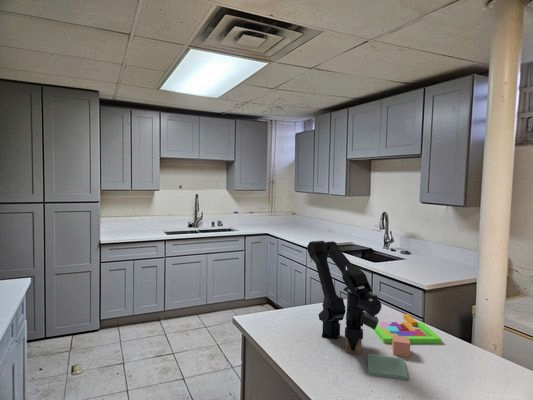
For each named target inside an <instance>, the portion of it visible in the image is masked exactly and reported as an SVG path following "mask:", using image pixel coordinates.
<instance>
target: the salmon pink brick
mask: <svg viewBox="0 0 533 400" xmlns="http://www.w3.org/2000/svg"><path fill="white" fill-rule="evenodd" d="M391 349H392V354H393V356H402V357H411V343H410V341H409V338H408V337H405V336H397V335H392V343H391Z"/></svg>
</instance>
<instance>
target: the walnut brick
mask: <svg viewBox="0 0 533 400" xmlns="http://www.w3.org/2000/svg"><path fill="white" fill-rule="evenodd" d="M362 341H363V339H358V341H357V344H356V348H355V351H352V350H351V347H350V345H349V342H348V340H347V337H345V345H344V346H345V347H344V352H345V353H350V354H357V355H358V354H359V355H361V354H362Z"/></svg>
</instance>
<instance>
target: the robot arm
mask: <svg viewBox="0 0 533 400" xmlns="http://www.w3.org/2000/svg"><path fill="white" fill-rule="evenodd" d="M306 250H307V253H308V255H309V258H310V259H311V260H312V261H313V262H314V264H315V266H316V270H317V271H316V272H317V274H318V278H319V282H320V285H321V289H322V293H323V297H324V298H323V301H322V311H320V312H319V313H318V320H319V321H321V322H322V333H321V337H322V338H328V339H337V340H338V339H339V337H340V335H341V323H340V321H343V320H344V317H345V328H344V337H345V338H346V337H347V340H348V342H349V345H350V347H351V350H352V351H355V348H356V344H357V341H358V339H362V340H363V339H364V329H363V327H364V325H365V326H366V327H369V328H371V329H372V330H373V329H376V327H377V324H379V318H378V316H377V315H378V314H379V313H380V312H381V310H382V303H381V300H380V299H378V295H377V294H373V293H372V292H373V289H372V286H371V285H370V282H369V280H368V278H367V277H368V276H367V275H366V273H365V272H364V271H363V270H362V269H360V268H359V267H358V266H355V265H353V264H352V263H351V261H350V260H349V258H347V256H346V255H345V253H343V252H342V250H341V249H340V247H339V246H338V243H337V242H336V241H332V240H331V241H325V240H315V241H310V242H308V244H307V246H306ZM328 257H330V259H331V260H332V262H333V263H334V265H335V266H336V267H337V268H338V270H339V271H340V273H341V276H342V277H341V278H342V281H343V282H344V284H345V287H344V288H343V291H344V292H346V293H347V294H346V298H347V299H346V305H345V302H344V301H345V299H344V298H343V297H339V295H337V290H336V288H335V284H334V282H333V277H332V273H331V269H330V266H329V262H328Z"/></svg>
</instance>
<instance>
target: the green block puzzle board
mask: <svg viewBox="0 0 533 400" xmlns="http://www.w3.org/2000/svg"><path fill="white" fill-rule="evenodd" d="M402 315H403V316H402V317H403V319H404V320H405V321H402V322H401V323H398V322H396V321H392V322H391V323H388V322H387V321H381V322H380V323H378V324H377V327H376V329H372V330H373V331H374V333H375V334H376V335H377V336H378V338H379V339H380V340H381V342H382V343H383V344H392V335H397V336H405V337H408V338H409V341H410V344H442V338H441V337H440V336H439V335H438V334H437V333H435V332H434V331H433V330H432V329H431V328H430V327H428V326H427V325H426V324H425V323H424V322H421V321H420V322H417V321H416V320H415V319H414V318H413V316H411V315H410V314H409V313H403V314H402ZM413 327H417V328H413Z"/></svg>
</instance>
